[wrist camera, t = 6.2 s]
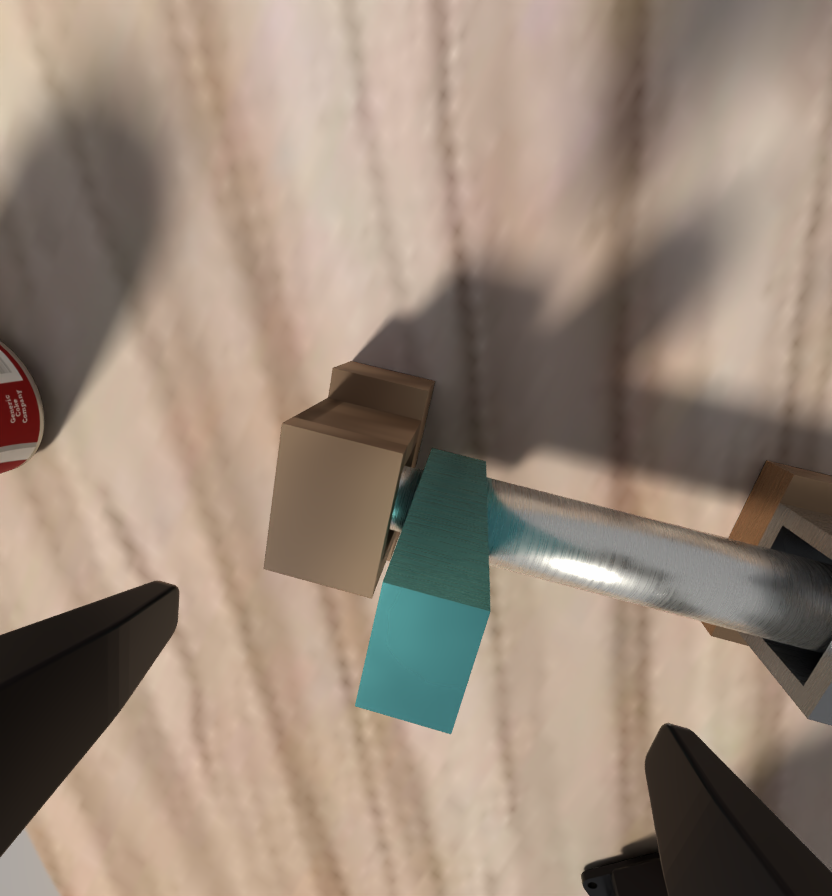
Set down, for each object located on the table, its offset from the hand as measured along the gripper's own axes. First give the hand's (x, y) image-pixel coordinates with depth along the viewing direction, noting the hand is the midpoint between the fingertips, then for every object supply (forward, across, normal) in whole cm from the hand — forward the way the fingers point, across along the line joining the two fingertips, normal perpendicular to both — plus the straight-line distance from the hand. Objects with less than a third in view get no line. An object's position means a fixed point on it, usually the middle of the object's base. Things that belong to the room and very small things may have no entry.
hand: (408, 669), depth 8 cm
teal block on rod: (+9, -6, 0) cm, 11 cm away
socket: (+11, +3, 0) cm, 12 cm away
